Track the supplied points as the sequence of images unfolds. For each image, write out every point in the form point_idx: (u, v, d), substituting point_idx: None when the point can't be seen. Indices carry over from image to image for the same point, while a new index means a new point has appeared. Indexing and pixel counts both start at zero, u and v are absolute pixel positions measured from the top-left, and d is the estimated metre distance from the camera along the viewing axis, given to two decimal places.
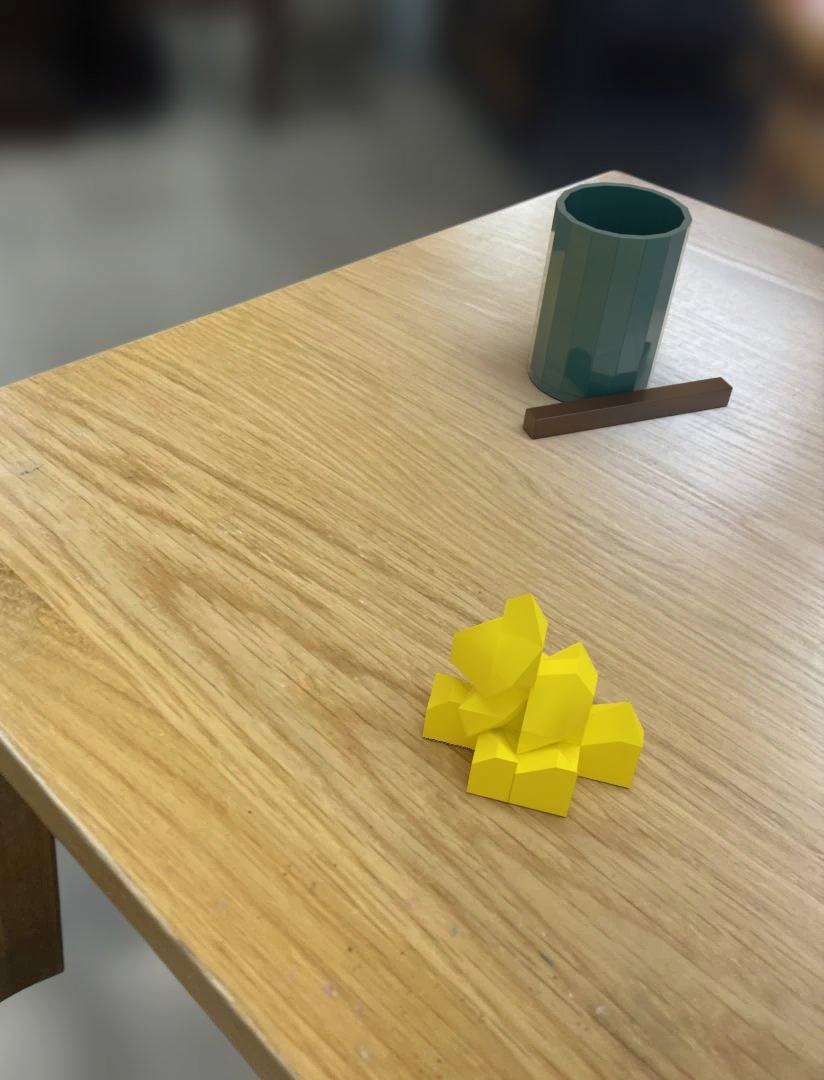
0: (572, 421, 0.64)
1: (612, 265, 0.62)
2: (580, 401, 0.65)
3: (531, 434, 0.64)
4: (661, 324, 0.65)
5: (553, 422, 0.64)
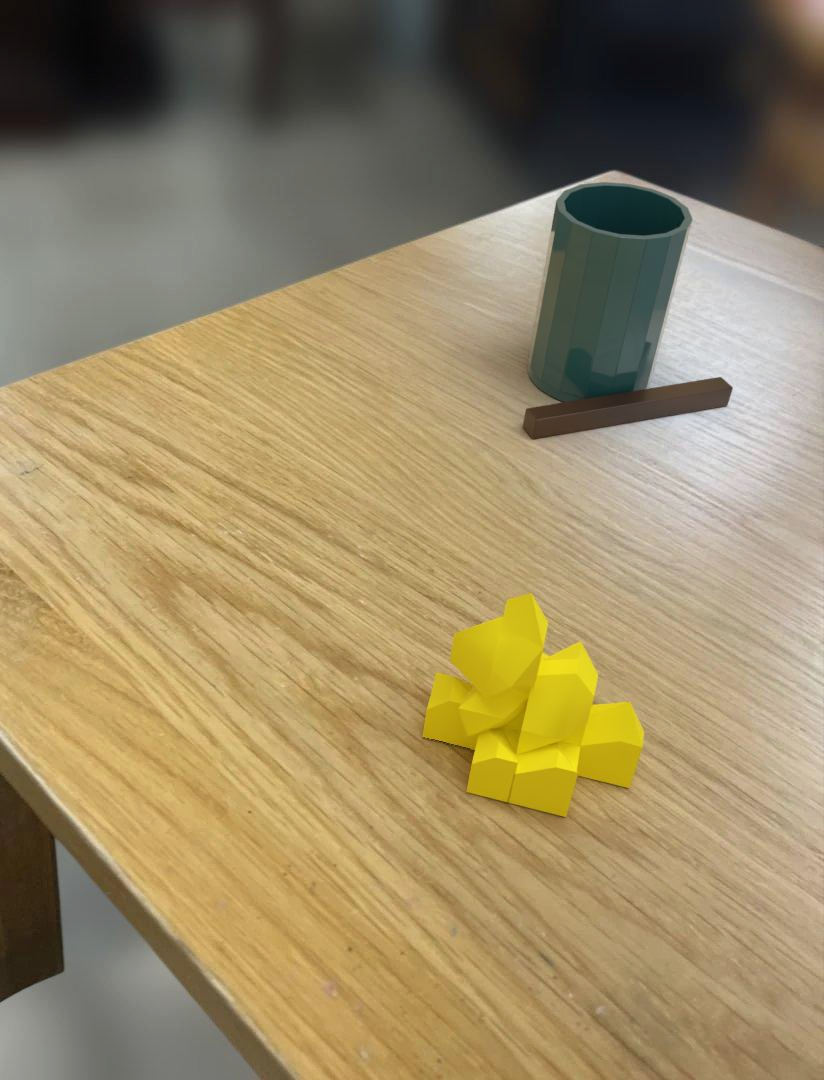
0: (572, 421, 0.64)
1: (612, 265, 0.62)
2: (580, 401, 0.65)
3: (531, 434, 0.64)
4: (661, 324, 0.65)
5: (553, 422, 0.64)
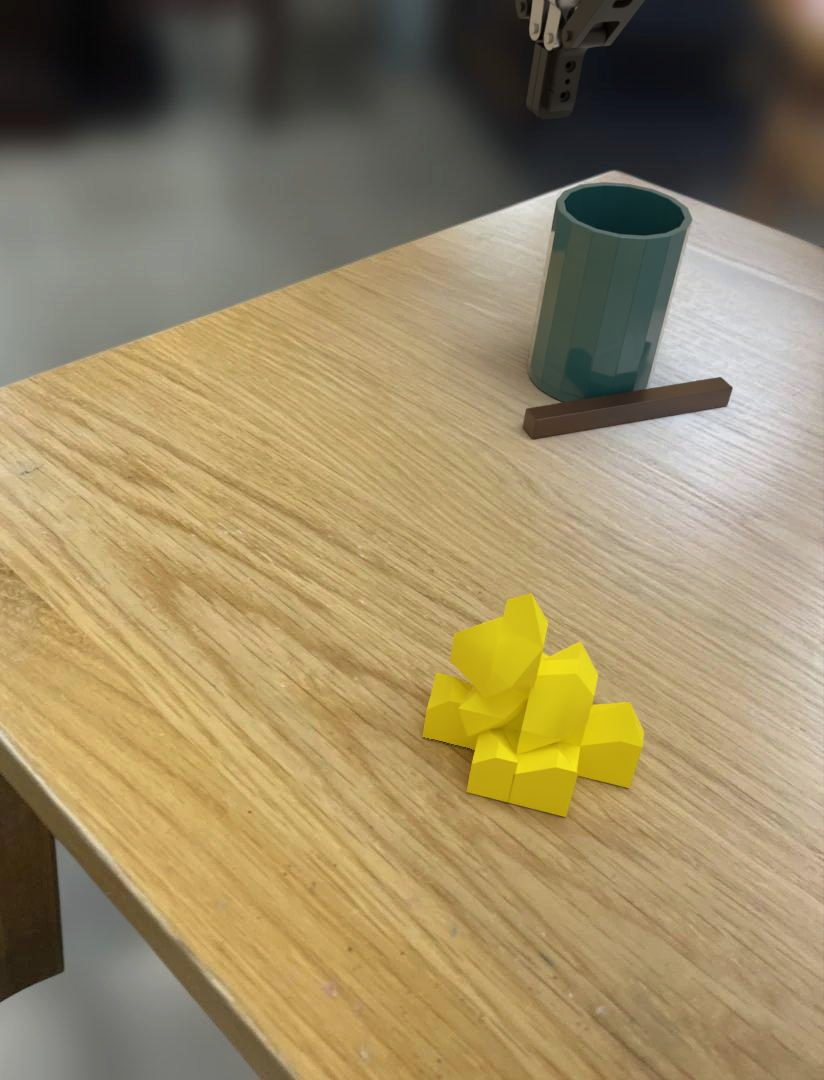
0: (572, 421, 0.64)
1: (612, 265, 0.62)
2: (580, 401, 0.65)
3: (531, 434, 0.64)
4: (661, 324, 0.65)
5: (553, 422, 0.64)
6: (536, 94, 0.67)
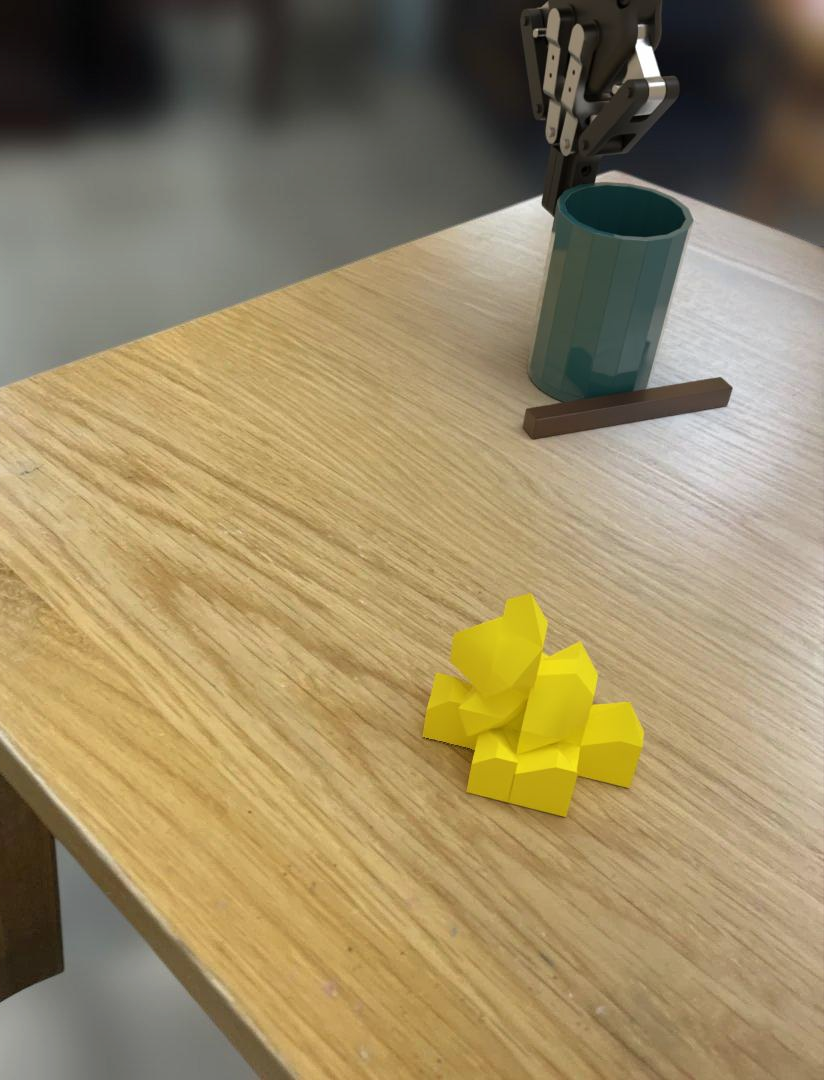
0: (572, 421, 0.64)
1: (613, 266, 0.61)
2: (580, 401, 0.65)
3: (531, 434, 0.64)
4: (661, 325, 0.65)
5: (553, 422, 0.64)
6: (552, 196, 0.67)
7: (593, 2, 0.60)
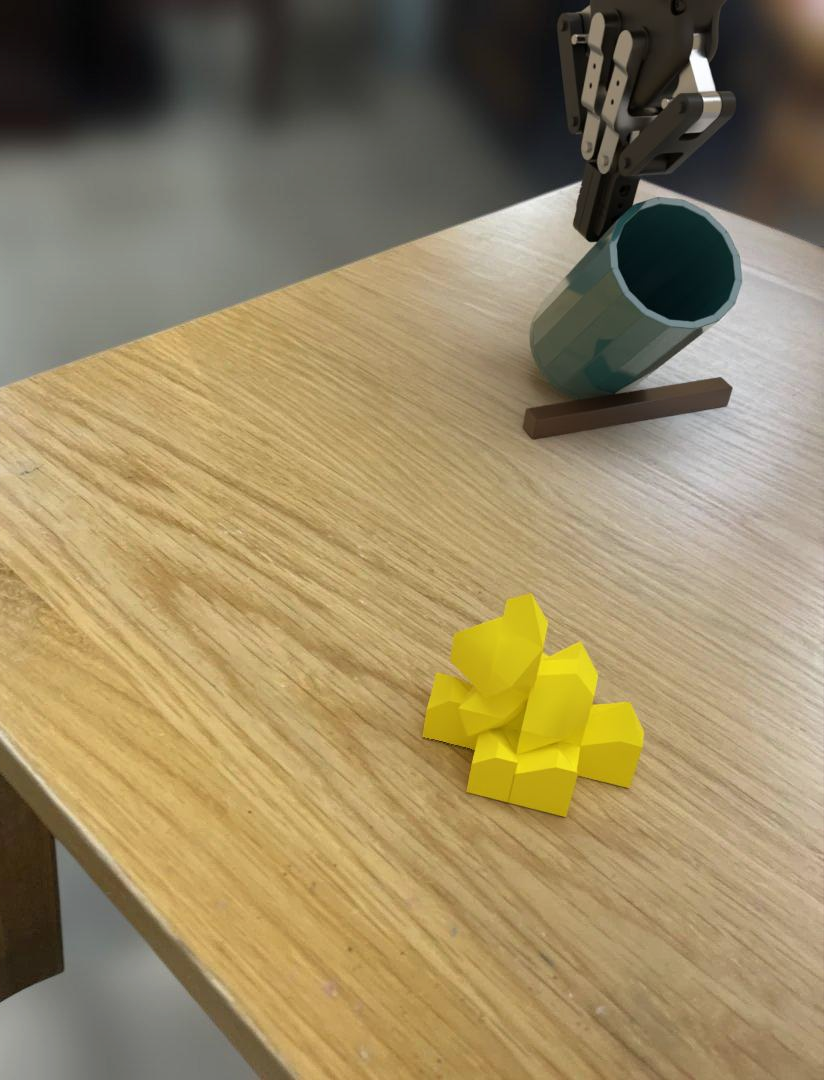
0: (572, 421, 0.64)
1: (652, 338, 0.59)
2: (580, 401, 0.65)
3: (531, 434, 0.64)
4: None
5: (553, 422, 0.64)
6: (585, 217, 0.62)
7: (643, 7, 0.55)
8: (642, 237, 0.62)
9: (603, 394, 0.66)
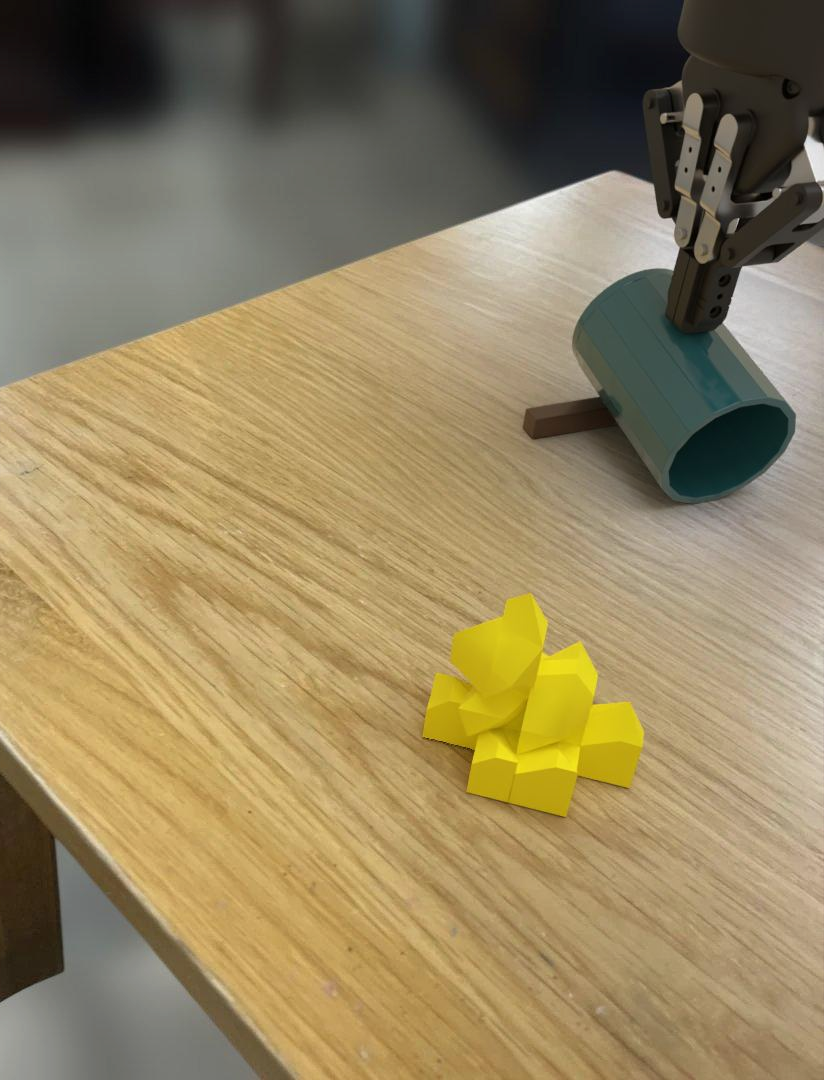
0: (572, 421, 0.64)
1: None
2: (580, 401, 0.65)
3: (531, 434, 0.64)
4: None
5: (553, 422, 0.64)
6: (680, 307, 0.57)
7: (747, 88, 0.51)
8: None
9: None
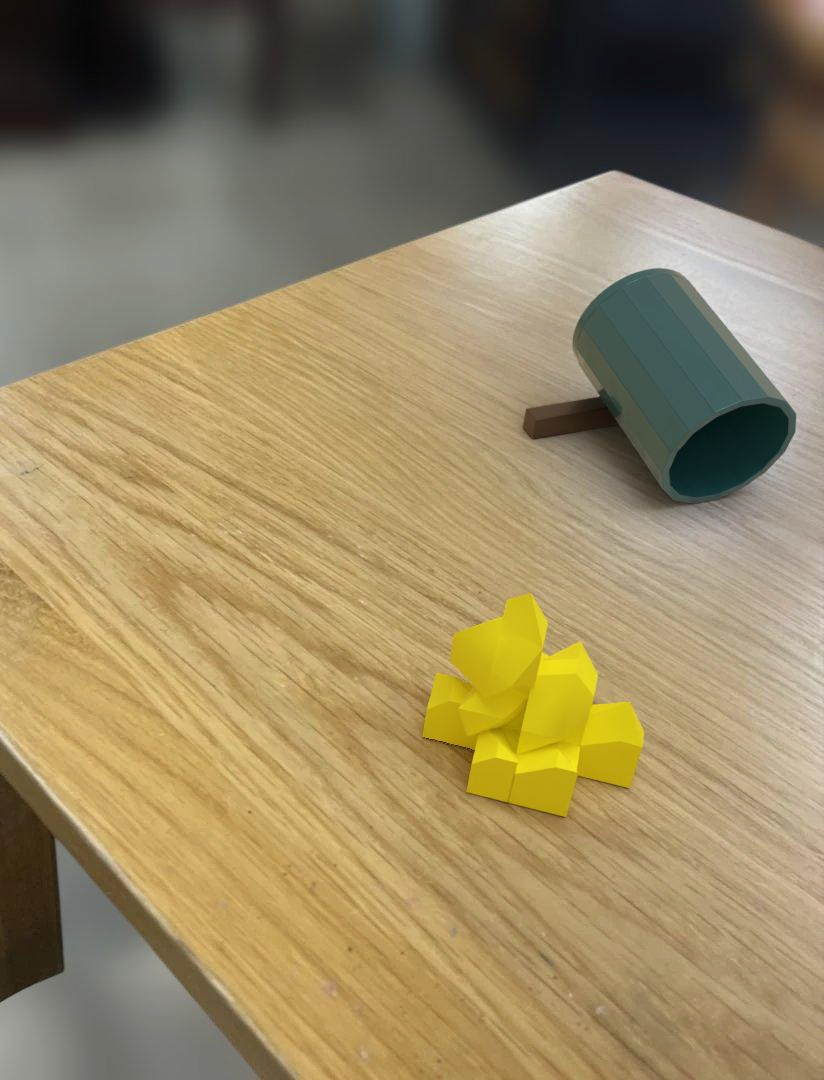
0: (572, 421, 0.64)
1: None
2: (580, 401, 0.65)
3: (531, 434, 0.64)
4: None
5: (553, 422, 0.64)
6: None
7: None
8: None
9: None
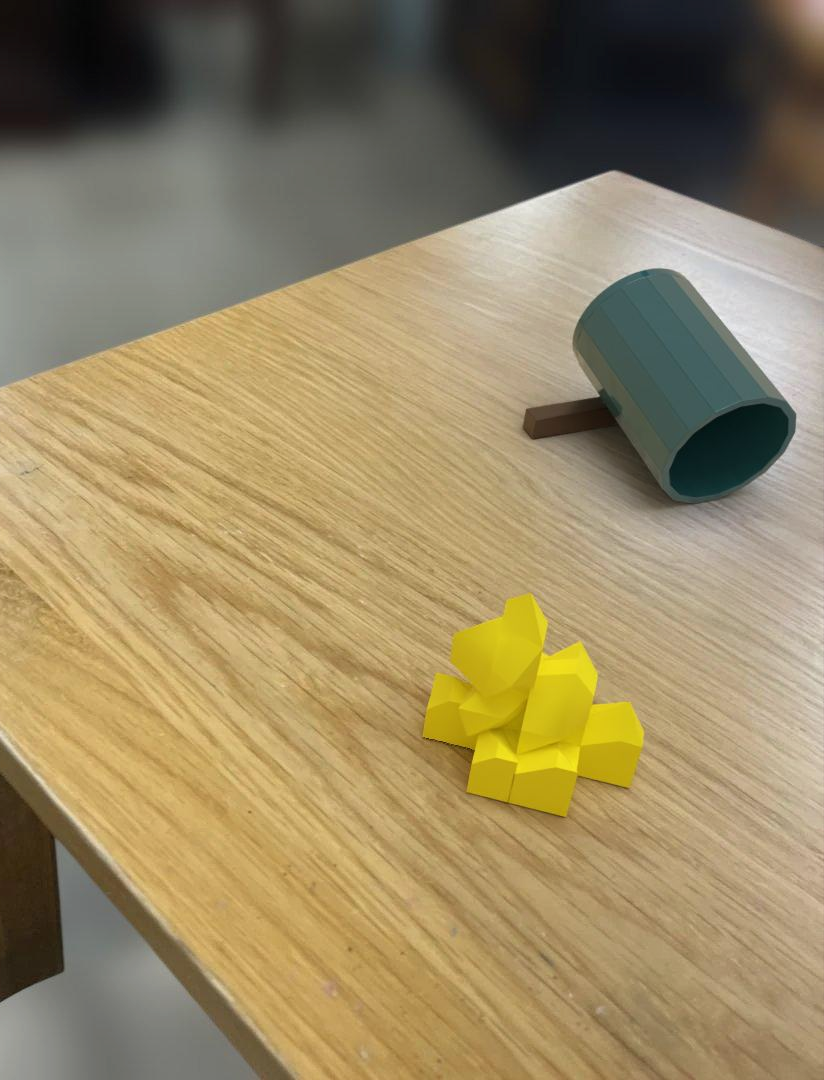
0: (572, 421, 0.64)
1: None
2: (580, 401, 0.65)
3: (531, 434, 0.64)
4: None
5: (553, 422, 0.64)
6: None
7: None
8: None
9: None
